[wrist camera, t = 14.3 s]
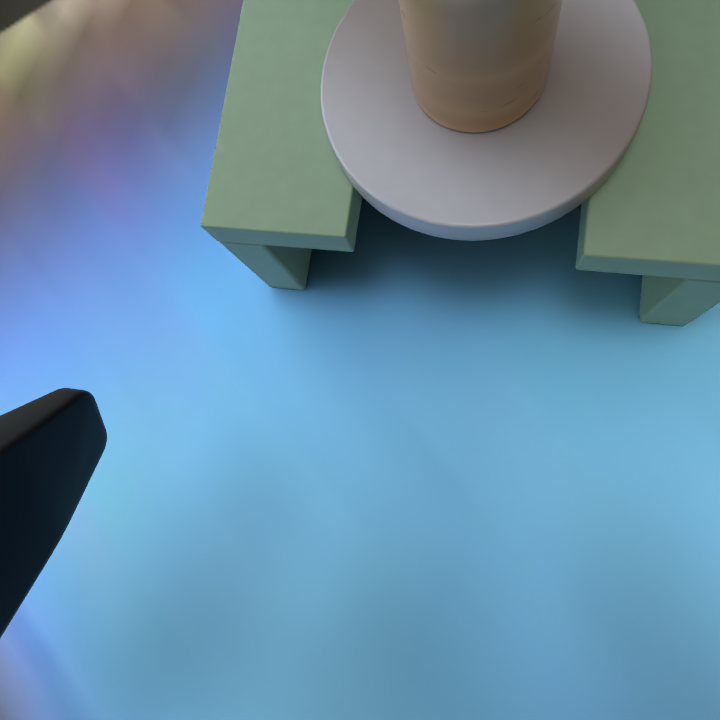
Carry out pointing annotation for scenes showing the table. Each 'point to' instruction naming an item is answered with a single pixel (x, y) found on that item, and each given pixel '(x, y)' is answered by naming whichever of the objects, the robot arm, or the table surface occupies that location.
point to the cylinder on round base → (484, 107)
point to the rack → (343, 202)
